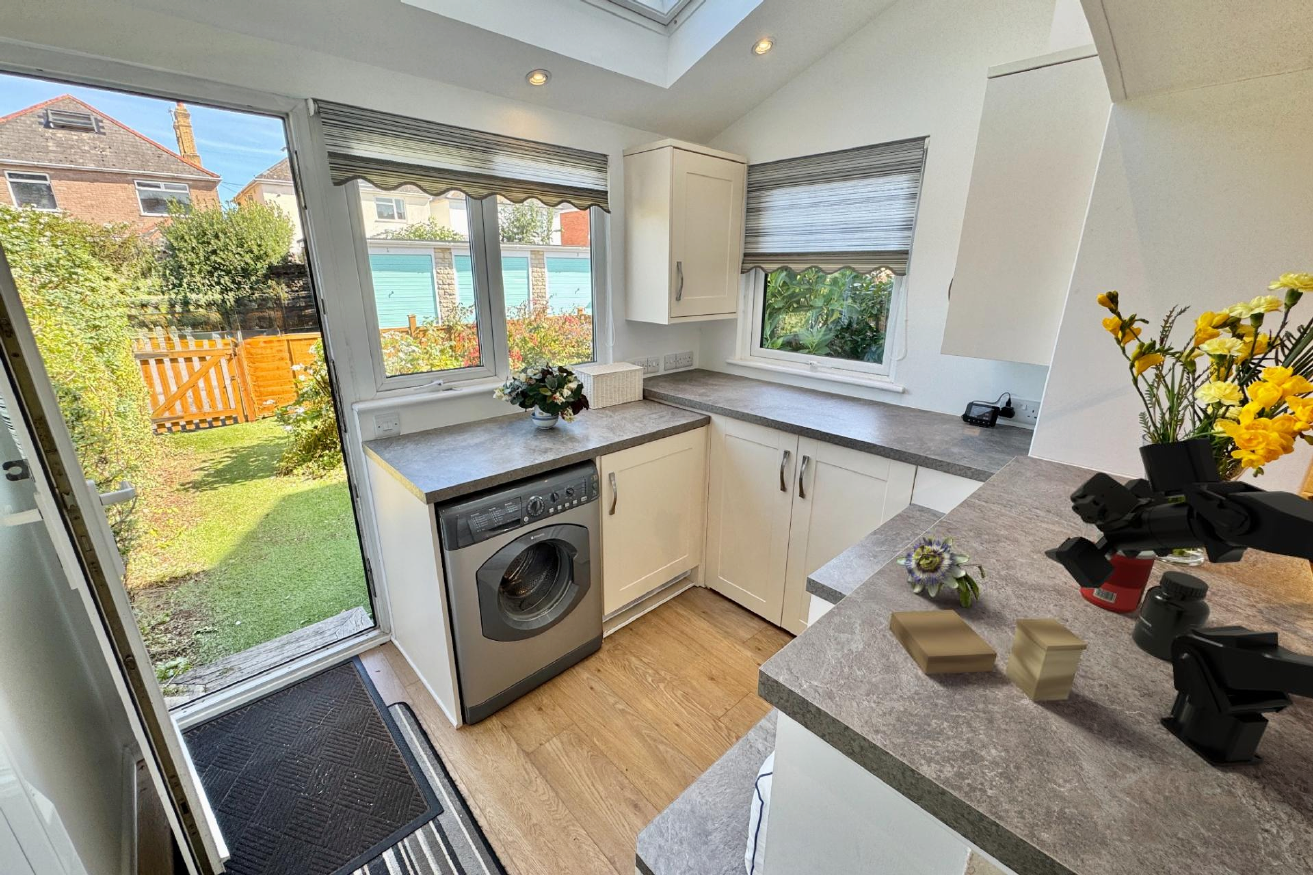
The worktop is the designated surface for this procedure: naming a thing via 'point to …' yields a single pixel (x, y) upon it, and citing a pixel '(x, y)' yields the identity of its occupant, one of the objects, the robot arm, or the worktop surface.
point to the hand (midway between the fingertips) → (1065, 536)
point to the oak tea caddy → (1044, 658)
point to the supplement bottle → (1170, 612)
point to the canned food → (1122, 582)
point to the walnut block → (942, 642)
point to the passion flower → (939, 569)
